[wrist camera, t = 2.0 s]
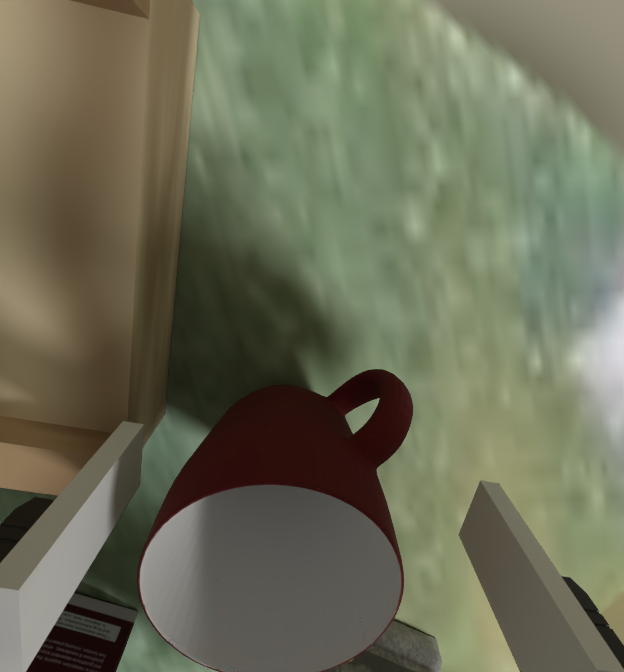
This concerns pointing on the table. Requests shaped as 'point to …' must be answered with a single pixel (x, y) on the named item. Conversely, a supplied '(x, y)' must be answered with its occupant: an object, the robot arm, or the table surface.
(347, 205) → the table surface
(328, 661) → the mug
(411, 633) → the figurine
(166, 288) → the pedestal
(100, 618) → the supplement box
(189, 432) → the table surface
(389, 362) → the table surface
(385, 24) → the table surface
